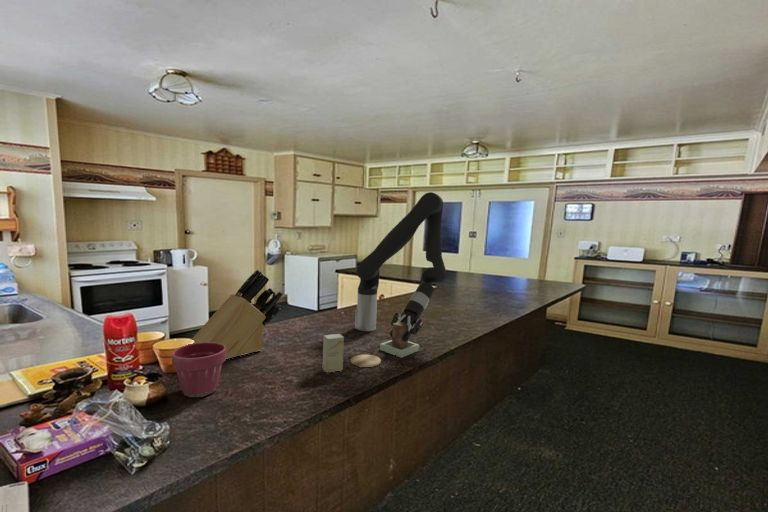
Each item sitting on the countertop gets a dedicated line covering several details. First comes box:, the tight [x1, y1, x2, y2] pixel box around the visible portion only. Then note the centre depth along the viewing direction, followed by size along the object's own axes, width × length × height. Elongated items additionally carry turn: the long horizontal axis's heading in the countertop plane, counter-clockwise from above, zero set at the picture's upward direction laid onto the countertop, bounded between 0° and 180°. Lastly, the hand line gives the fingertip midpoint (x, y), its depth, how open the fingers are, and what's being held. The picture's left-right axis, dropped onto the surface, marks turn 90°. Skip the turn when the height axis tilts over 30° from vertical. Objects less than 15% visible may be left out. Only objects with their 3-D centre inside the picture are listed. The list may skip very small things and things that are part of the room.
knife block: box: [191, 268, 284, 358], centre depth 138 cm, size 11×35×31 cm, turn 137°
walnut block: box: [391, 322, 409, 350], centre depth 148 cm, size 4×4×11 cm
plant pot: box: [171, 342, 227, 394], centre depth 109 cm, size 14×14×13 cm
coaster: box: [350, 354, 382, 368], centre depth 136 cm, size 11×11×1 cm
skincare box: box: [321, 333, 345, 373], centre depth 127 cm, size 6×4×12 cm
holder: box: [379, 339, 420, 359], centre depth 149 cm, size 11×11×2 cm
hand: (397, 338), depth 147 cm, fingers open, 6 cm apart
